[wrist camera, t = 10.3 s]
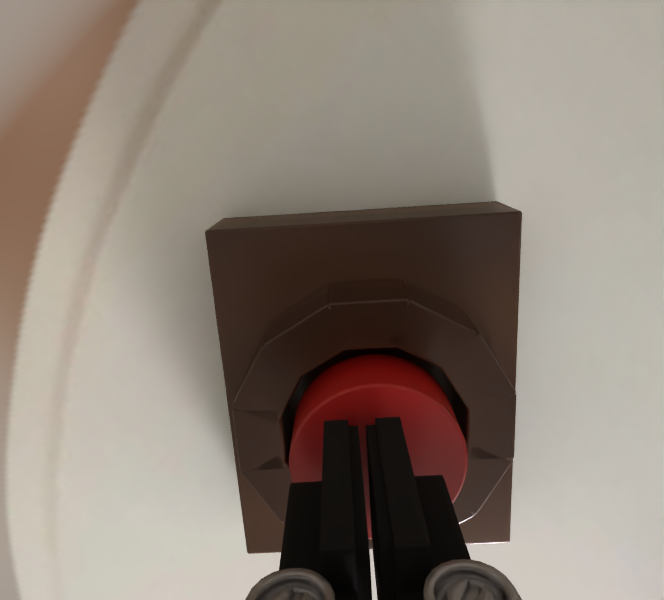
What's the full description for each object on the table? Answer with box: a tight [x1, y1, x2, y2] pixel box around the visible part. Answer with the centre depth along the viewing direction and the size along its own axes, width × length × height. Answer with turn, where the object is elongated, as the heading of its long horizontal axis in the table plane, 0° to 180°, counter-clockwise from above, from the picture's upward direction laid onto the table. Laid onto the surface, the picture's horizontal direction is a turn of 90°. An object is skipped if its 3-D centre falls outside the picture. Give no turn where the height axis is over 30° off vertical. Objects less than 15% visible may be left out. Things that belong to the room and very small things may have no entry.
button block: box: [205, 201, 522, 554], centre depth 15 cm, size 10×8×4 cm
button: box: [289, 354, 468, 539], centre depth 13 cm, size 4×4×2 cm
